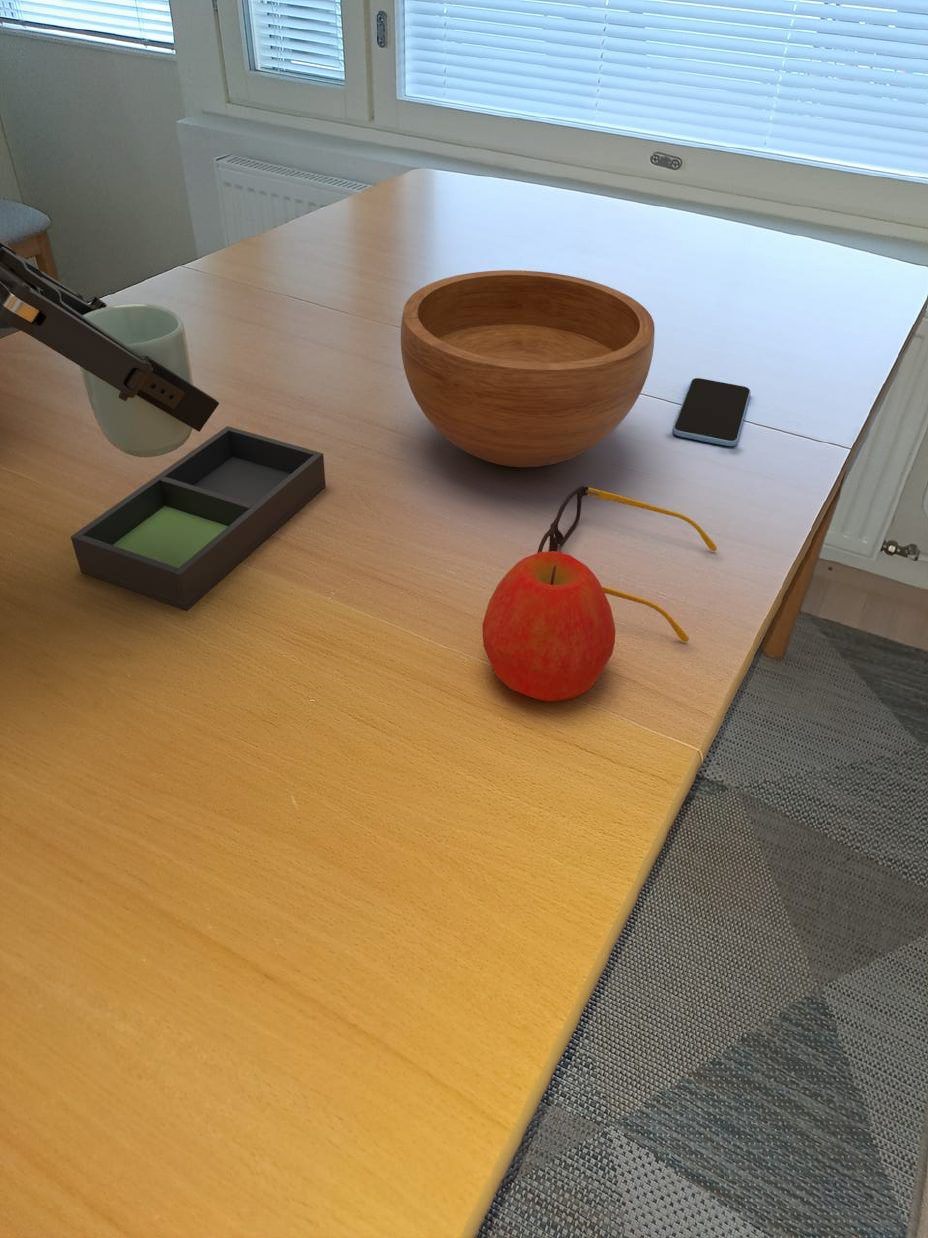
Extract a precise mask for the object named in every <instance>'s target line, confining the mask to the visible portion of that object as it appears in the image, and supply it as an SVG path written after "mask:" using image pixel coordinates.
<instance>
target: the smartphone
mask: <svg viewBox="0 0 928 1238" xmlns="http://www.w3.org/2000/svg"><path fill="white" fill-rule="evenodd" d="M751 393H752V392H751V389H750V388H749V387H747V386H744V385H739V384H734V383H728V382H723V381H717V380H712V379H708V378H707V379H706V378H701V377H695V378H693V379H691V381H690V383H689V385H688V387H687V389H686V393H685V395H684V398H683V401H682V403H681V405H680V408H679V409H678V411H677V414H676V417H675V419H674V422H673V426H672V434H673V435H675V436H677V437H681V438H686V439H690V440H695V441H700V442H706V443H710V444H715V445H721V446H726V447H733V446H736V445H737V444H738V442H739V438H740V434H741V431H742V426H743V423H744V419H745V416H746V411H747V408H748V404H749V399H750V396H751Z"/></svg>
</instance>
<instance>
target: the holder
mask: <svg viewBox="0 0 928 1238" xmlns="http://www.w3.org/2000/svg"><path fill="white" fill-rule="evenodd" d="M325 473H326V472H325V459H324V453H323V452H320V451H317V450H313V449H309V448H306V447H303V446H299V445H296V444H292V443H288V442H285V441H281V440H277V439H276V438H275V439H274V438H271V437H267V436H264V435H260V434H257V433H253V432H250V431H247V430H244V429H243V430H242V429H239V428H235V427H232V426H229V425H227V426H225V427H224V428H222V429H221V430H220V431H218V432H216V433H215V434H214V435H212V436H211V437H209V438H208V439H207V440H206V441H204V442H202V443H201V444H200V445H198V446H197V447H195V448H194V449H192V450H191V451H190V452H188V453H186V454H185V455H184V456H183V457H181V458H180V459H178V460H177V461H175V462H174V463H173V464H172V465H170V466H169V467H167V468H166V469H164V470H163V471H161V472H160V473H159V474H157V475H156V476H154V477H153V478H151V479H150V480H149V481H147V482H146V483H145V484H143V485H142V486H139V488H137V489H135V491H133V492H131V494H129V495H127V496H126V497H124V498H122V500H120V501H119V502H118V503H116V504H115V505H113V506H112V507H110V508H109V509H108V510H105V512H103V513H102V514H100V515H99V516H97V517H96V518H95V519H93V520H92V521H90V522H89V523H88V524H86V525H85V526H83V527H82V528H81V529H79V530H78V531H76V532H75V533H74V534H72V535H71V536H70V540H71V543H72V547H73V549H74V555H75V557H76V560H77V564H78V567H79V570H80V572H81V573H83V574H84V575H85V574H86V575H88V576H90V577H93V578H97V579H100V580H102V581H104V582H107V583H110V584H113V585H116V586H119V587H122V588H123V589H127V590H129V591H133V592H135V593H137V594H141V595H143V596H146V597H149V598H152V599H155V600H157V601H159V602H162V603H166V604H168V605H170V606H174V607H176V608H179V609H181V610H185V611H188V610H189V609H190V608H192V607H193V605H195V604H196V603H197V602H199V600H200V599H202V598H203V597H204V596H205V595H206V594H207V593H208V592H209V591H210V590H212V589H213V588H214V587H215V586H216V585H217V584H218V583H220V582H221V581H222V580H223V579H224V578H225V577H226V576H228V575H229V574H230V573H231V572H232V571H233V570H234V569H235V568H236V567H237V566H238V565H240V564H241V562H243V561H244V560H245V559H246V558H248V557H249V556H250V555H251V554H252V553H253V552H254V551H255V550H256V549H257V548H258V547H260V546H261V545H262V544H263V543H264V542H265V541H266V540H268V538H270V537H271V536H272V535H273V534H274V533H275V532H277V530H279V529H280V528H281V527H282V526H283V525H284V524H285V523H286V522H287V521H288V520H290V519H291V518H292V517H293V516H294V515H295V514H297V513H298V512H299V511H300V510H301V509H302V508H303V507H304V506H305V505H307V504H308V503H309V502H311V500H312V499H313V498H315V496H317V495H318V494H319V493H321V491H322V490H323V489H324V488H326V487H327V486H326V474H325Z"/></svg>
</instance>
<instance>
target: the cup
mask: <svg viewBox="0 0 928 1238" xmlns="http://www.w3.org/2000/svg"><path fill="white" fill-rule="evenodd" d="M83 316H84V317H85V318H87V319H88V320H90V321H91V322H92V323H94V324H95V325H97V326H98V327H100V328H101V329H103V330H104V331H105V332H107V333H108V334H110V335H111V336H113V337H114V338H116V339H117V340H118V341H120V342H121V343H123V344H124V345H126V346H127V347H129V348H130V349H131V350H133V351H134V352H136V353H137V354H139V355H141V356H142V355H143V356H144V357H145V356H148V357H149V358H151V359H152V360H154V361H155V362H157V363H159V364H160V365H162V366H163V367H165V368H167V369H168V370H170V371H171V372H173V373H174V374H176V375H178V376H179V377H181V378H182V379H184V380H186V381H187V382H189V383H190V384H192V385H193V386H194V381H193V372H192V366H191V360H190V354H189V347H188V339H187V335H186V330H185V326H184V323H183V320H182V319H181V317H180V316H179V315H178V314H177V312H175V311H173V310H171V309H169V308H167V307H164V306H161V305H158V304H157V305H156V304H150V303H124V304H123V303H122V304H115V305H110V306H107V307H105V308H101V309H97V310H95V311H92V312H89V313H87V314H85V315H83ZM79 368H80V372H81V376H82V380H83V384H84V388H85V391H86V395H87V398H88V401H89V404H90V408H91V409H92V413H93V416H94V418H95V420H96V423H97V425H98V427H99V429H100V431H101V433H102V434H103V436H104V437H105V439H106V440H107V441H108V442H109V444H110V445H112V446H113V447H114V448H115V449H117V450H118V451H120V452H122V453H123V454H125V455H127V456H128V455H129V456H132V457H136V458H153V457H160V456H164V455H166V454H169V453H173V452H174V451H176V450H177V449H179V448H180V447H182V446H183V445H184V444H185V443H186V442H187V441H188V439H189V438H190V436H191V434H192V432H193V430H194V429H193V428H192V427H190V426H188V425H186V424H185V423H183V422H181V421H180V420H178V419H176V418H174V417H173V416H171V415H169V414H168V413H166V412H164V411H162V410H161V409H159V408H157V407H156V406H154V405H152V404H151V403H149V402H147V401H145V400H144V399H142V398H140V397H139V396H137V395H136V396H135V397H134V398H130V397H129V398H128V399H127V401H124V400H122V399H120V398H118V397H119V393H120V392H121V391H120V390H118V389H116V388H115V387H113V386H111V385H110V384H108V383H107V382H105V381H103V380H102V379H100V378H98V377H97V376H95V375H94V374H92V373H90V372H89V371H87V370H85V369H84V368H82V367H81V366H79Z"/></svg>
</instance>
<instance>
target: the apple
mask: <svg viewBox="0 0 928 1238" xmlns="http://www.w3.org/2000/svg"><path fill="white" fill-rule="evenodd" d="M601 586H602V585H601V581H600V580H599V579H598V577H597V576H596V575H595V574H594V572H593V571H592V570H591V569H590V568H589V566H587V565H586V564H584V563H583V562H581V561H580V560H579V559H577V558H576V557H574V556H573V555H571V554H569V553H568V554H567V553H563V552H558V551H556V552H555V551H550V552H549V551H542V552H539V553H537V552H535V553H534V554H531V555H529V556H526V557H524V558H522V559H521V560H519V561H517V562H516V564H514V566H512V568H511V569H510V570H509V571H508V572H507V573H506V574H505V575H504V576H503V577H502V578H501V580H500V581H499V583H498V584H497V586H496V588H495V589H494V591H493V593H492V595H491V597H490V599H489V602H488V604H487V607H486V610H485V613H484V618H483V621H482V625H481V626H482V643H483V648H484V651H485V653H486V655H487V658H488V660H489V662H490V665H491V667H492V669H493V671H494V673H495V675H496V677H497V678H498V679H499V680H500V681H501V682H502V683H504V684H505V685H506V686H507V687H508V688H509V689H510V690H513V691H514V692H517V693H519V694H522V695H524V696H527V697H529V698H533V699H535V700H541V701H544V702H549V703H551V702H558V701H566V700H572V699H575V698H578V696H580V695H582V694H584V693H586V692H588V691H590V690H591V688H592V687H593V685H594V684H595V683H596V681H597V680H598V679H599V678H600V676H601V674H602V672H603V670H604V669H605V667H606V665H607V664H608V662H609V660H610V659H611V658H612V657H611V656H613V653H614V648H615V645H616V625H615V620H614V617H613V612H612V607H611V605H610V602H609V599H608V598H607V594H606V593H604V591H603V589H602V587H601Z"/></svg>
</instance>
